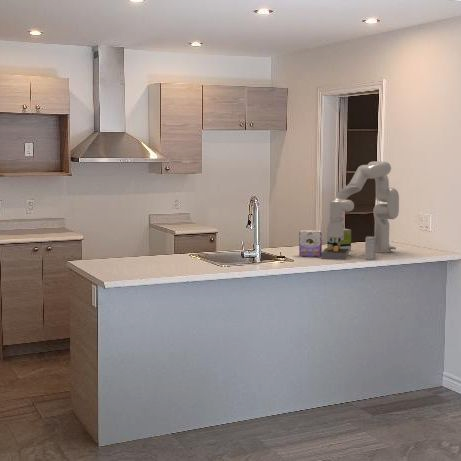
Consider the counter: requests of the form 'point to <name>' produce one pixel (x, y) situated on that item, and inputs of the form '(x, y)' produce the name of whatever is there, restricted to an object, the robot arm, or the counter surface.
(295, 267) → the counter surface
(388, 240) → the robot arm
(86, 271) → the counter surface
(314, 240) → the candy box
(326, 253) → the breaker panel
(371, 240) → the junction box
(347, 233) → the tea box
